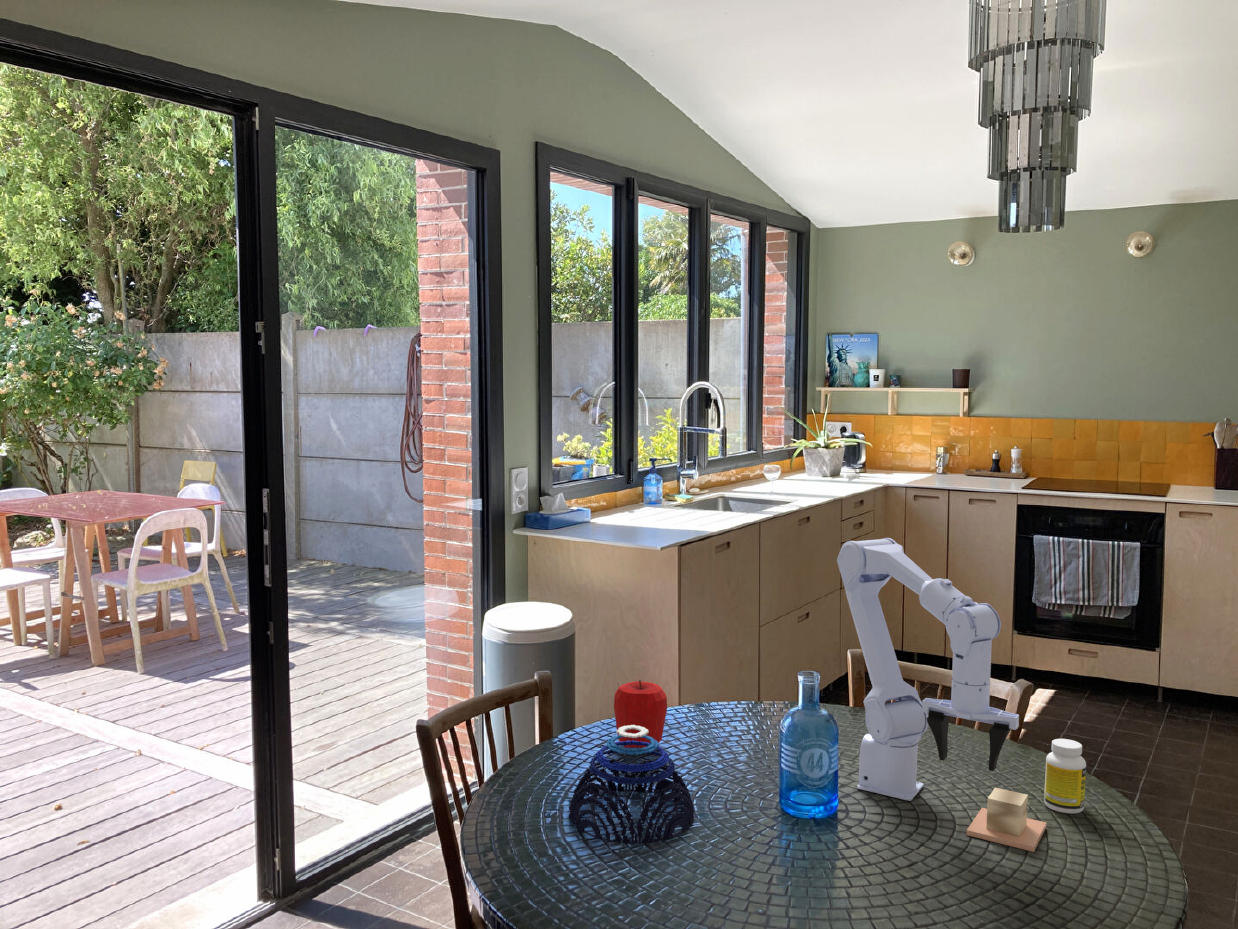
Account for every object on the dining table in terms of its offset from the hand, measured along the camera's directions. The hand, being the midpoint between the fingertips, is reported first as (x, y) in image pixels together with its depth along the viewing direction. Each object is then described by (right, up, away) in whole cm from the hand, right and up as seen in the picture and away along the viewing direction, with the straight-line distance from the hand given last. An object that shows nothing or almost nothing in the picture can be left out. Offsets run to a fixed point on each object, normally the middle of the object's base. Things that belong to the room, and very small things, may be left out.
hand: (967, 763), depth 158 cm
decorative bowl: (-54, -10, +4) cm, 55 cm away
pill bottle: (+19, -10, +9) cm, 23 cm away
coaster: (+6, -11, -1) cm, 12 cm away
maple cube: (+6, -10, -1) cm, 11 cm away
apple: (-52, -7, +33) cm, 62 cm away
